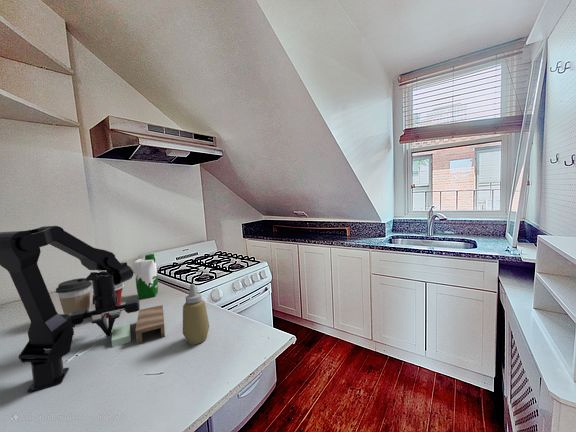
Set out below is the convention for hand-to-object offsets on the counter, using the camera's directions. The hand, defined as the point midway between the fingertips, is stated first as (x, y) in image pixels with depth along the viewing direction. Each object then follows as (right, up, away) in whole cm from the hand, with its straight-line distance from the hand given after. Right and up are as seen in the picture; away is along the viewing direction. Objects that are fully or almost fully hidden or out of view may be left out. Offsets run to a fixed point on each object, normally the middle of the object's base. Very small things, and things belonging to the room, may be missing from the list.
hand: (109, 336), depth 84 cm
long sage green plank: (+3, -1, +2) cm, 4 cm away
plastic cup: (-13, -1, +20) cm, 24 cm away
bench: (+11, 0, +6) cm, 12 cm away
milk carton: (-9, +1, +40) cm, 41 cm away
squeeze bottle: (+30, 0, -4) cm, 31 cm away
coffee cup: (-26, -2, +19) cm, 32 cm away
